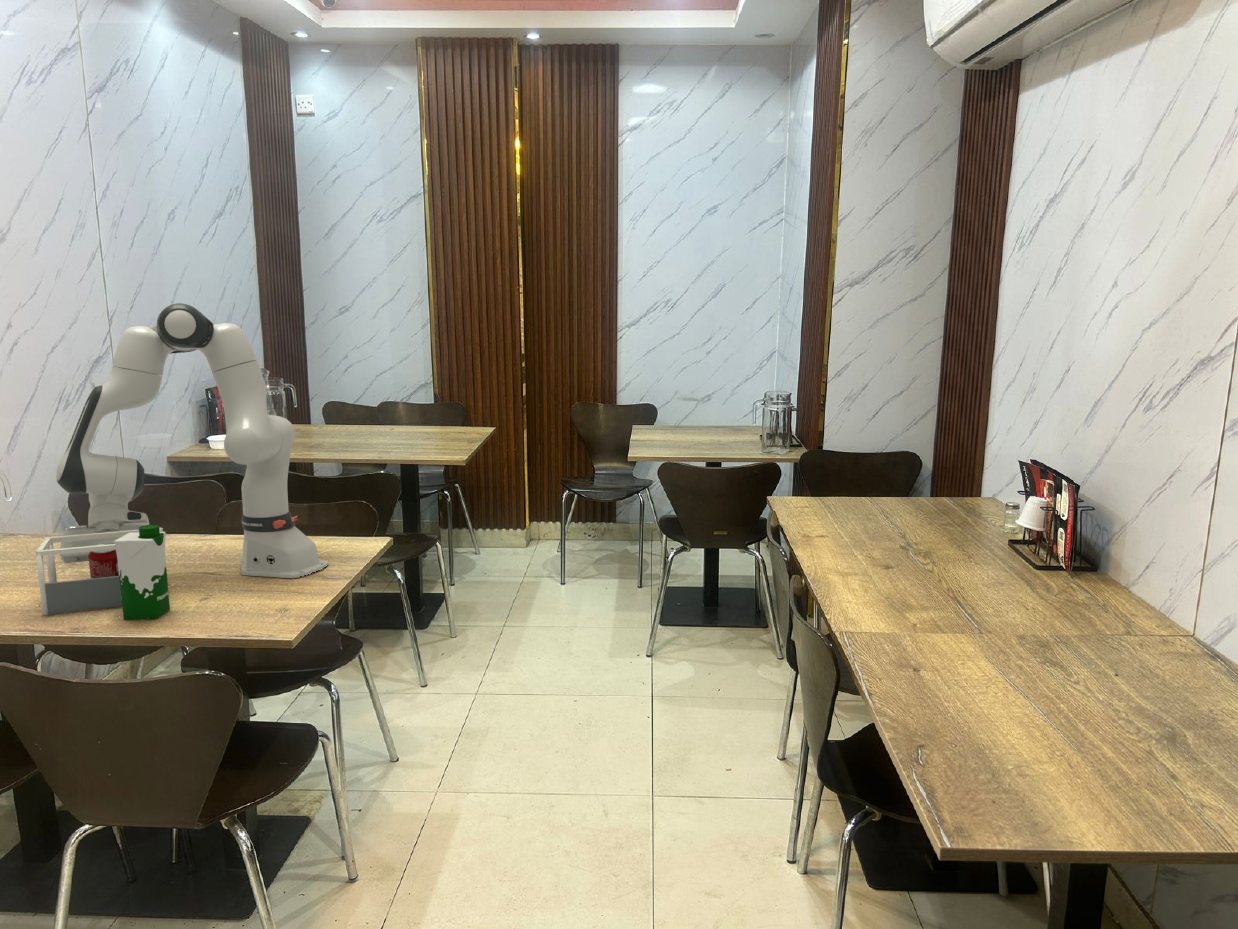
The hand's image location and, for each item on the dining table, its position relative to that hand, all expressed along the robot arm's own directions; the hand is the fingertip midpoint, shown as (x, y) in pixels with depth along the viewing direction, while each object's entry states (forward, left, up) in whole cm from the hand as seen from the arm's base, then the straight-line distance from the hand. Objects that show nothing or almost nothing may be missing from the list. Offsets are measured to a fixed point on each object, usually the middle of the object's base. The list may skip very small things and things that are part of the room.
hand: (108, 573), depth 220 cm
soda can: (-1, +1, -5) cm, 5 cm away
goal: (-3, +4, -5) cm, 7 cm away
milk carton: (-20, +7, -5) cm, 22 cm away
